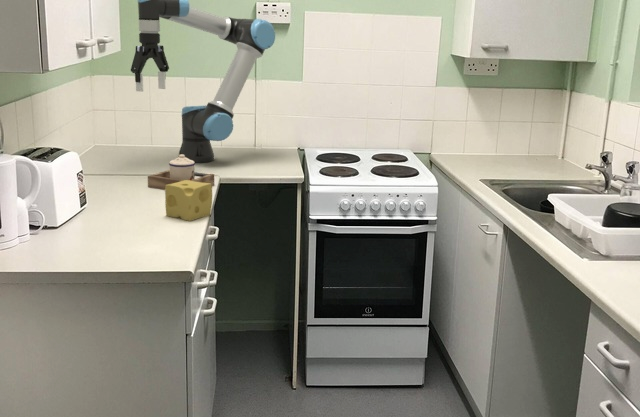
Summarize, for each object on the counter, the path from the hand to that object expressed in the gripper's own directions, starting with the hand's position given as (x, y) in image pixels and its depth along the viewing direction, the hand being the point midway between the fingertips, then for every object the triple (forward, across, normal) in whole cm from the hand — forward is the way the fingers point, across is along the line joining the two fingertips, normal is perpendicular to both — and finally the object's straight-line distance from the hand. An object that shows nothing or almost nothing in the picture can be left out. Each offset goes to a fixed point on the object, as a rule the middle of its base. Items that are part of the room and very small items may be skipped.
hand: (151, 90), depth 265 cm
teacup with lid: (+32, +14, +23) cm, 42 cm away
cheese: (+32, +45, +47) cm, 73 cm away
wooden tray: (+32, +14, +23) cm, 42 cm away
